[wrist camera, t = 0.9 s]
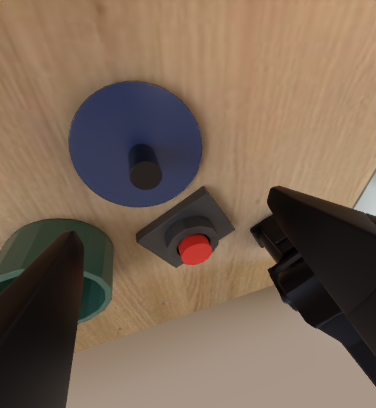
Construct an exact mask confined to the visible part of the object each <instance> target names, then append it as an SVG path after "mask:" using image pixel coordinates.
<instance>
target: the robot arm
mask: <svg viewBox="0 0 376 408" xmlns="http://www.w3.org/2000/svg"><path fill="white" fill-rule="evenodd" d="M267 204H268V206H269V208H270V210H271V212H272V213H273V215H272V216H270V217H268V218H267V219H265V220H264V221H262V222H261V223H259V224H257V225H256V226H254V227H253V228H251V229H250V231H251V233H252V235H253V236H254V238H255V239H256V241H257V242H258V244H259V245H260V247H261V248H263V247H265V248H266V250H267V251H268V252H269V254H270V255H271V256H272V258H273V259H274V260H275V262H276V263H277V264H276V265H274V266H273V267H272V268H269V269H268V272H269V274H270V277H271V279H272V281H273V282H274V284H275V286H276V288H277V290H278V292H279V294H280V296H281V299H282V301H283V302H284V303H286V304H289V305H290V306H291V307H292V308H293V309H294V310H295V311H299V313H300V314H301V316H302V317H303V318H304V320H305V321H306V322H307V323H308V324H310V325H311V326H313V327H314V328H318V329H320V330H321V331H323V332H325V333H326V334H328V335H330V336H331V337H333V338H335V339H337V340H338V341H340V342H341V343H342V344H343V346H344V347H345V348H346V349H347V351H348V352H349V353H350V354H351V356H352V357H353V358H354V359H355V361H356V362H357V363H358V365H359V366H360V367H361V368H362V370H363V371H364V372H365V374H366V375H367V376H368V377H369V379H370V380H371V381H372V382H373V384H374V385H375V386H376V216H373V215H370V214H367V213H366V214H365V213H364V212H361V211H357V210H354V209H351V208H348V207H345V206H342V205H338V204H335V203H332V202H329V201H326V200H323V199H320V198H316V197H313V196H310V195H307V194H304V193H301V192H297V191H294V190H291V189H288V188H285V187H282V186H276V187H272V188H271V189H270V191H269V195H268V199H267ZM83 280H84V245H83V242H82V241H81V239H80V237H79V236H78V234H77V232H76V231H75V230H70V231H65V232H63V233H61V234H60V235H59V236H58V237H57V238H56V239H55V240H54V241H53V242H52V243H51V244H50V245H49V246H48V247H47V248H46V249H45V250H44V251H43V252H42V253H41V254H40V255H39V256H38V257H37V258H36V259H35V260H34V261H33V262H32V263H31V264H30V265H29V266H28V267H27V268H26V269H25V270H24V271H23V272H22V273H21V274H20V275H19V276H18V277H17V278H16V279H15V280H14V281H13V282H12V283H11V284H10V285H9V286H8V287H7V288H5V289H4V290H3V291H2V292H1V293H0V408H66V402H67V395H68V388H69V381H70V373H71V366H72V359H73V352H74V345H75V338H76V331H77V324H78V317H79V310H80V303H81V296H82V289H83Z"/></svg>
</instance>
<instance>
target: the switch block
mask: <svg viewBox="0 0 376 408" xmlns="http://www.w3.org/2000/svg"><path fill="white" fill-rule="evenodd" d="M234 230H235V228H234V227H233V225H232V224H231V222H230V221H229V220H228V218H227V217H226V216H225V214H224V213H223V212H222V210H221V209H220V207H219V206H218V205H217V203H216V202H215V201H214V199H213V198H212V197H211V195H210V194H209V193H208V191H207V190H206V189H205V187H204V186H203V187H202V188H200V189H199V190H197V191H196V192H195V193H193V194H192V195H190V196H189V197H188V198H186V199H185V200H183V201H182V202H180V203H179V204H178V205H176V206H175V207H173V208H172V209H171V210H169V211H168V212H166V213H165V214H164V215H162V216H161V217H159V218H158V219H157V220H155V221H154V222H152V223H151V224H149V225H148V226H147V227H145V228H144V229H142V230H141V231H140V232H138V233H137V234H136V240H137V243H139V244H140V245H142V246H143V247H145V248H146V249H148V250H149V251H151V252H153V253H154V254H156V255H157V256H159V257H160V258H162V259H163V260H165V261H166V262H168V263H169V264H171V265H172V266H174V267H176V268H177V267H178V266H180V265H182V264H185V263H184V262H183V261H182V259H181V256H180V252H179V249H178V246H179V243H180V242H181V240H183V239H184V238H186V237H187V236H189V235H193V234H197V233H199V234H203V235H205V236H206V237H207V239H208V241H209V243H210V245H211V247H212V252H213V251H214V250H215V248H216V247H217V246H218V242H219V240H220V239H222V238H223V237H225V236H226V235H228V234H229V233H231V232H232V231H234ZM211 254H212V253H211Z"/></svg>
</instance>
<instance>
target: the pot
mask: <svg viewBox="0 0 376 408" xmlns="http://www.w3.org/2000/svg"><path fill="white" fill-rule="evenodd" d="M70 230H75V231H76V232H77V234H78V236H79V237H80V239H81V241H82V242H83V245H84V280H83V289H82V296H81V303H80V310H79V317H78V324H79V323H82V322H85V321H87V320H90V319H92V318H93V317H95V316H96V315H98V314H99V313H101V312H102V311H104V310H105V309H106V307H107V306H108V304H109V303H110V301H111V300H112V285H113V260H114V254H113V252H114V250H113V245H112V242H111V240H110V239H109V238H108V236H107V235H106V234H105V233H104V232H102V231H101V230H99V229H98V228H96V227H94V226H92V225H90V224H87V223H84V222H80V221H75V220H69V219H48V220H42V221H38V222H34V223H31V224H28V225H26V226H24V227H22V228H20V229H19V230H18V231H16V232H15V233H14V234H13V235H12V236H11V237H10V238H9V239H8V240H7V241H6V243H5V244H4V246H3V248H2V249H1V251H0V293H1V292H2V291H3V290H4V289H5V288H7V287H8V286H9V285H10V284H11V283H12V282H13V281H14V280H15V279H16V278H17V277H18V276H19V275H20V274H21V273H22V272H23V271H24V270H25V269H26V268H27V267H28V266H29V265H30V264H31V263H32V262H33V261H34V260H35V259H36V258H37V257H38V256H39V255H40V254H41V253H42V252H43V251H44V250H45V249H46V248H47V247H48V246H49V245H50V244H51V243H52V242H53V241H54V240H55V239H56V238H57V237H58V236H59V235H60V234H61V233H63V232H65V231H70Z"/></svg>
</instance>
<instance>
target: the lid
mask: <svg viewBox="0 0 376 408" xmlns="http://www.w3.org/2000/svg"><path fill="white" fill-rule="evenodd" d="M69 152H70V156H71V160H72V163H73V165H74V168H75V169H76V171H77V173H78V175H79V176H80V178H81V179H82V180H83V182H84V183H85V184H86V185H87V186H88V187H89V188H90V189H91V190H92V191H94V192H95V193H96V194H98V195H99V196H101V197H102V198H104V199H106V200H108V201H110V202H113V203H115V204H119V205H122V206H128V207H149V206H154V205H158V204H161V203H164V202H166V201H168V200H170V199H172V198H174V197H175V196H177V195H178V194H180V193H181V192H182V191H183V190H184V189H185V188H186V187H187V186H188V185H189V184H190V182H191V181H192V180H193V178H194V176H195V175H196V172H197V170H198V168H199V165H200V161H201V156H202V138H201V133H200V130H199V127H198V124H197V122H196V120H195V118H194V116H193V114H192V113H191V111H190V110H189V109H188V107H187V106H186V105H185V104H184V103H183V102H182V101H181V100H180V99H179V98H177V97H176V96H175V95H174V94H172V93H170V92H169V91H167V90H166V89H164V88H161V87H159V86H157V85H154V84H150V83H147V82H140V81H124V82H118V83H114V84H111V85H108V86H105V87H103V88H101V89H99V90H98V91H96V92H95V93H93V94H92V95H91V96H89V97H88V98H87V99H86V100H85V101H84V103H83V104H82V105H81V106H80V108H79V109H78V111H77V112H76V114H75V116H74V118H73V120H72V123H71V127H70V131H69Z"/></svg>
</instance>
